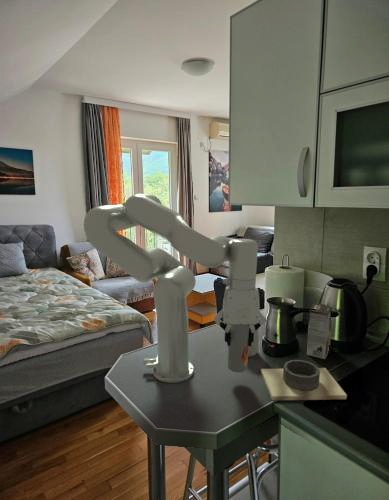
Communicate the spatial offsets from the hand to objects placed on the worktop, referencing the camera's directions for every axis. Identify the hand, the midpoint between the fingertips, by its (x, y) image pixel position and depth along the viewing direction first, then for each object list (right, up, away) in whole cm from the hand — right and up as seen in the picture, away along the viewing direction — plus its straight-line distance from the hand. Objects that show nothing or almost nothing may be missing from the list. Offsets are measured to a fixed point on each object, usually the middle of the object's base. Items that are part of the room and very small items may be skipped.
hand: (238, 343), depth 95 cm
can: (+5, -9, +20) cm, 22 cm away
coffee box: (+30, -9, +20) cm, 38 cm away
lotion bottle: (0, -8, +1) cm, 8 cm away
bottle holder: (+18, -12, 0) cm, 21 cm away
